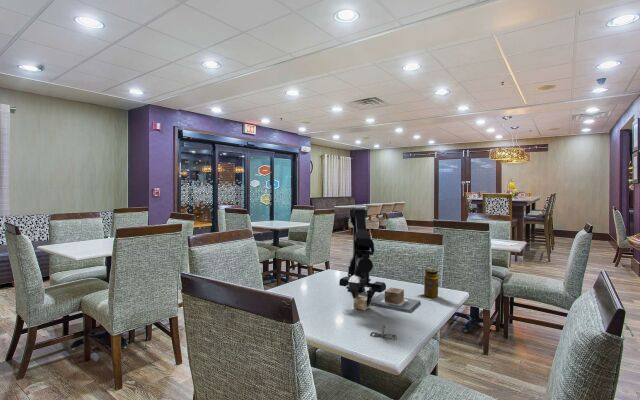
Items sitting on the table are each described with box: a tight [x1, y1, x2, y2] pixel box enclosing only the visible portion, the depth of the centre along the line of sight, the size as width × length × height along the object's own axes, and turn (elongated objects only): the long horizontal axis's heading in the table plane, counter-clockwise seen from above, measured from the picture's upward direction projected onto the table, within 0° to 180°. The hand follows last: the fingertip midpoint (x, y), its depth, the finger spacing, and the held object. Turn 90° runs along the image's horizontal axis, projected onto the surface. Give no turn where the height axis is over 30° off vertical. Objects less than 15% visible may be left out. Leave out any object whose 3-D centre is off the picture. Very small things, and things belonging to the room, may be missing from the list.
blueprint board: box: [370, 293, 421, 313], centre depth 149 cm, size 18×14×1 cm
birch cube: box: [353, 294, 371, 311], centre depth 143 cm, size 5×5×4 cm
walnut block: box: [384, 287, 405, 304], centre depth 149 cm, size 6×7×4 cm
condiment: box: [416, 269, 442, 301], centre depth 159 cm, size 7×8×12 cm
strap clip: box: [369, 323, 397, 341], centre depth 116 cm, size 8×3×4 cm, turn 69°
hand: (361, 304), depth 143 cm, fingers closed on birch cube, 5 cm apart
